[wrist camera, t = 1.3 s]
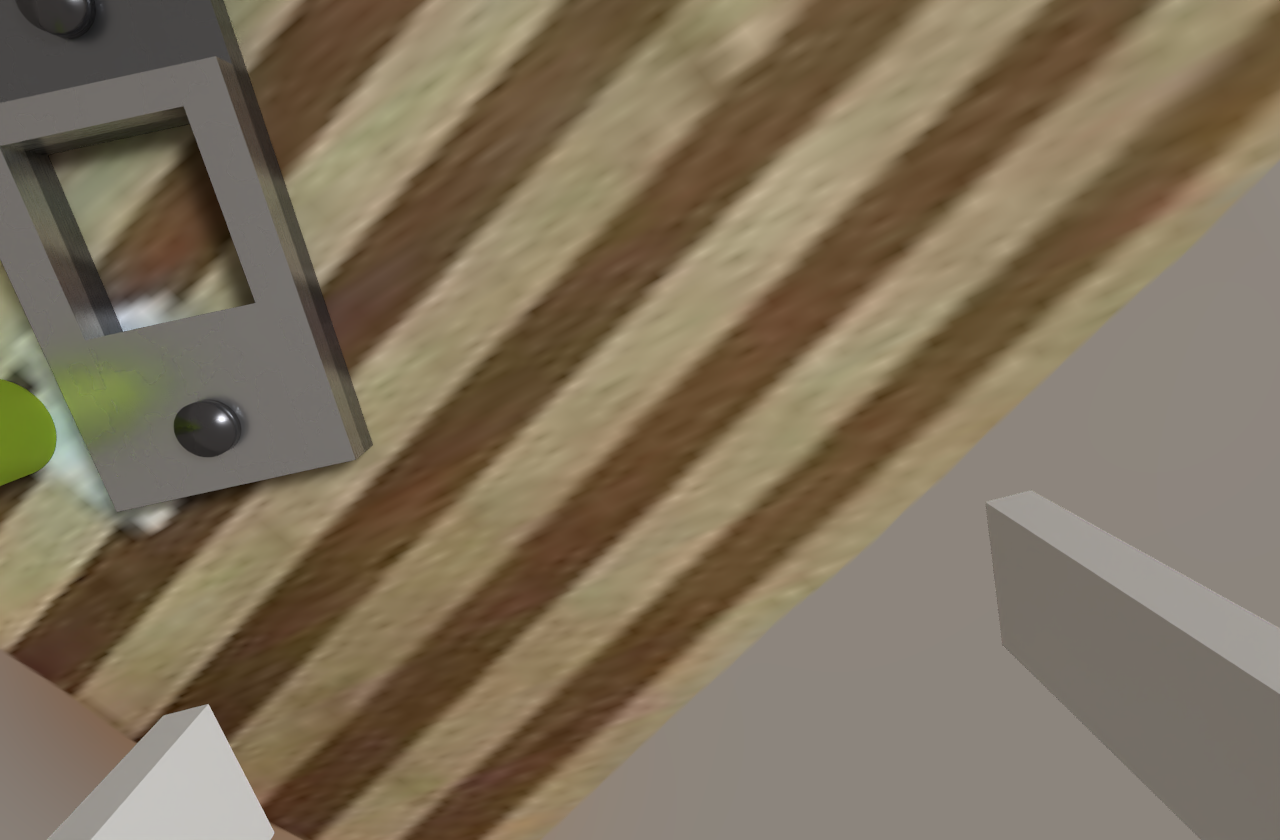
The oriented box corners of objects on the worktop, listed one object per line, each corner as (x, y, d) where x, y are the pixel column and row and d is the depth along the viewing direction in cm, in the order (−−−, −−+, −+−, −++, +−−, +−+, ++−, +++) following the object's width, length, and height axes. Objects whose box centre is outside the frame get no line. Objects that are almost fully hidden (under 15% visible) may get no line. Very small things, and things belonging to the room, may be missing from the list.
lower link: (-84, -38, 31) (-135, -59, 29) (190, -97, 31) (160, -122, 29) (97, 372, 36) (66, 379, 34) (331, 321, 36) (314, 325, 34)
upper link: (-11, 128, 33) (-83, 113, 29) (247, 72, 33) (205, 51, 30) (151, 493, 38) (106, 517, 35) (372, 444, 38) (350, 464, 35)
